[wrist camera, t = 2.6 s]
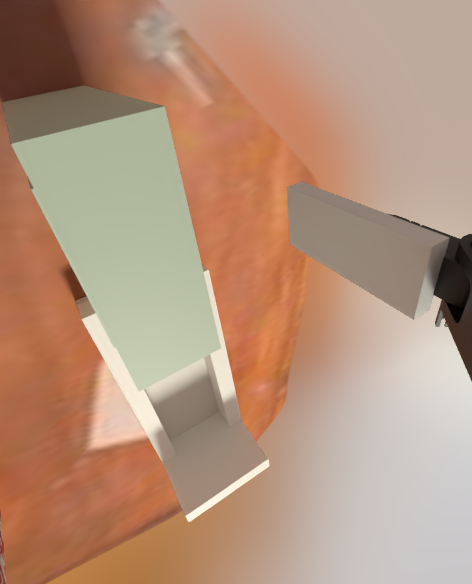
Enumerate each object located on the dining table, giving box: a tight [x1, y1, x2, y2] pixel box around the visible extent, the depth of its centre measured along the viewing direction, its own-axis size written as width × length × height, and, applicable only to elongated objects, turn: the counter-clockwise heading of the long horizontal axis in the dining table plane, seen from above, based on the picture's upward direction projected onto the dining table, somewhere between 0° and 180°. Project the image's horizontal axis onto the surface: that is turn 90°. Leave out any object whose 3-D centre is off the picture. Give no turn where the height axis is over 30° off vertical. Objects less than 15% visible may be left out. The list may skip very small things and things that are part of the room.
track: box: [75, 263, 269, 522], centre depth 29 cm, size 22×9×8 cm, turn 9°
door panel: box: [3, 85, 221, 392], centre depth 16 cm, size 10×4×12 cm, turn 9°
